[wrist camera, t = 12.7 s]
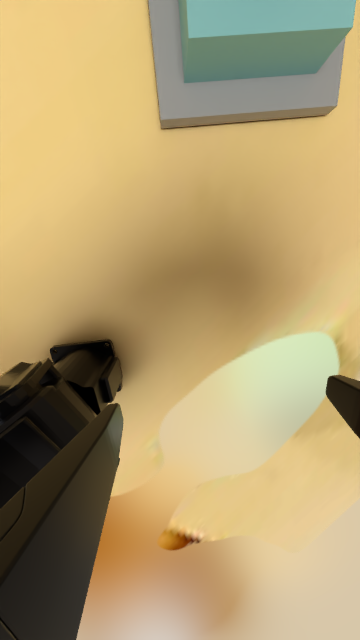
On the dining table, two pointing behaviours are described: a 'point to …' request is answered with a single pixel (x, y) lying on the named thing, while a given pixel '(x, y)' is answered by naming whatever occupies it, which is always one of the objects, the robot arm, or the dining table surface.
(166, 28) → the socket
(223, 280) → the dining table surface
